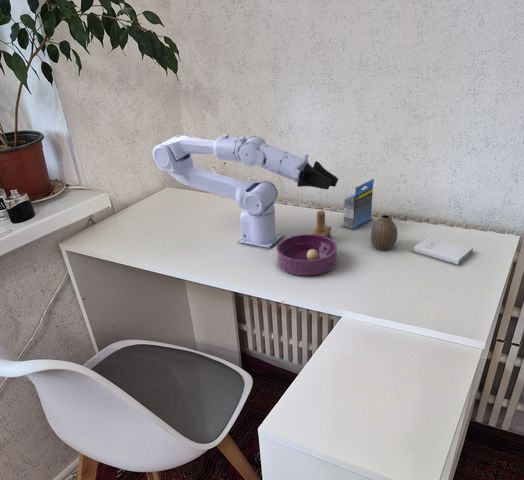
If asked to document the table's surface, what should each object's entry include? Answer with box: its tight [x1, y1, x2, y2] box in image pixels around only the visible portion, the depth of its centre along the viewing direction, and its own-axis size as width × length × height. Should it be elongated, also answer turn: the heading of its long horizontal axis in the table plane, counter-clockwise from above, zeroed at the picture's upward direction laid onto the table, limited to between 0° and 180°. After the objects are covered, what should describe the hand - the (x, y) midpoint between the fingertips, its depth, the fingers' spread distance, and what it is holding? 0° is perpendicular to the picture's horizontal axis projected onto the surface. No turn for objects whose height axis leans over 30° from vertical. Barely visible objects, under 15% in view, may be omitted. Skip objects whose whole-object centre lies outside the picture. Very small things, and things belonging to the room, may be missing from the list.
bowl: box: [276, 233, 338, 277], centre depth 131 cm, size 15×15×4 cm
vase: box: [370, 214, 399, 251], centre depth 134 cm, size 7×7×9 cm
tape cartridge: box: [343, 178, 375, 230], centre depth 146 cm, size 9×4×12 cm, turn 136°
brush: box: [309, 210, 332, 239], centre depth 139 cm, size 4×6×8 cm, turn 150°
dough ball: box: [307, 249, 318, 260], centre depth 131 cm, size 3×3×3 cm
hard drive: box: [412, 236, 474, 266], centre depth 132 cm, size 2×8×12 cm
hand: (333, 183), depth 126 cm, fingers open, 7 cm apart
